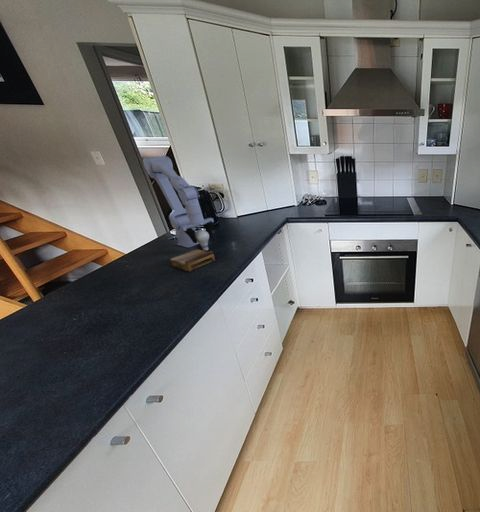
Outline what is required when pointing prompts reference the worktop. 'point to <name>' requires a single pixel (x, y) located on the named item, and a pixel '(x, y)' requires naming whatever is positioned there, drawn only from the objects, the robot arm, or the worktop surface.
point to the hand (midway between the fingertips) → (202, 239)
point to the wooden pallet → (193, 259)
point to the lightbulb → (202, 239)
